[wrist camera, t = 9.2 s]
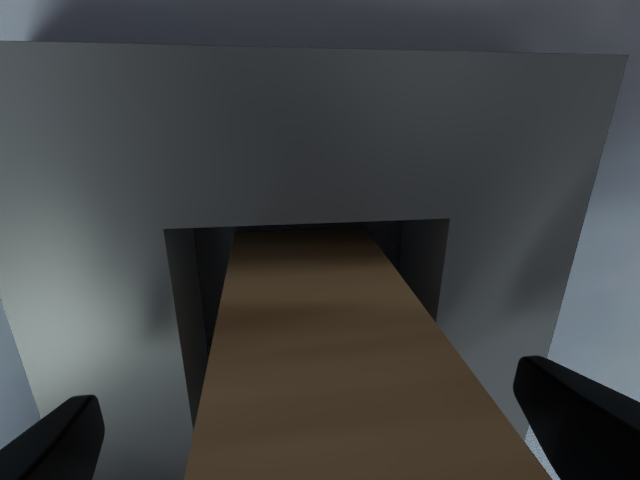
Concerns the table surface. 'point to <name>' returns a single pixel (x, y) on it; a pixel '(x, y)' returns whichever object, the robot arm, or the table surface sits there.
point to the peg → (340, 374)
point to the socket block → (278, 203)
